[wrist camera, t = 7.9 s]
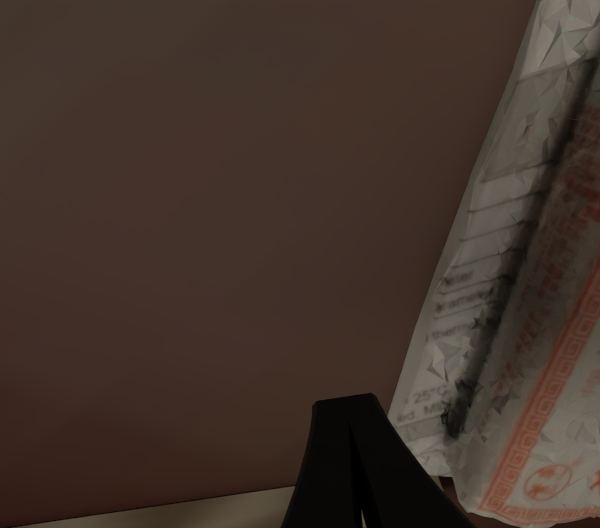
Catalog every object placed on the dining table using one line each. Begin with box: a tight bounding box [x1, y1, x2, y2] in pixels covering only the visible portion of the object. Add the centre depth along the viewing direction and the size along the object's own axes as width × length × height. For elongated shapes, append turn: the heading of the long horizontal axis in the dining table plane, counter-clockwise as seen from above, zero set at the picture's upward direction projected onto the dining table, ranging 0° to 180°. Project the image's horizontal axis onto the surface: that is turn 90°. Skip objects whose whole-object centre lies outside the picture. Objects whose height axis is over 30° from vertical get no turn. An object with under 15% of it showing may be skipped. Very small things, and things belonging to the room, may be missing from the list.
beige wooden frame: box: [13, 475, 444, 528], centre depth 16 cm, size 26×24×3 cm
